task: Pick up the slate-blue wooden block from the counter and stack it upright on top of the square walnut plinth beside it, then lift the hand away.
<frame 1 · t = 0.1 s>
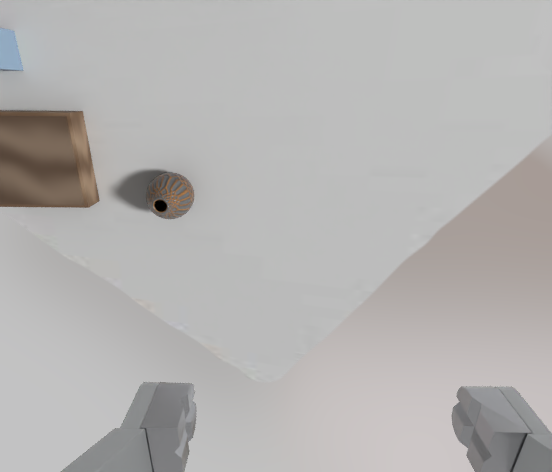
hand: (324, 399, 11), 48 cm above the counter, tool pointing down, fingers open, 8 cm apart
slate block: (1, 50, 50), on the counter
vase: (177, 189, 58), on the counter
walnut plinth: (47, 157, 56), on the counter
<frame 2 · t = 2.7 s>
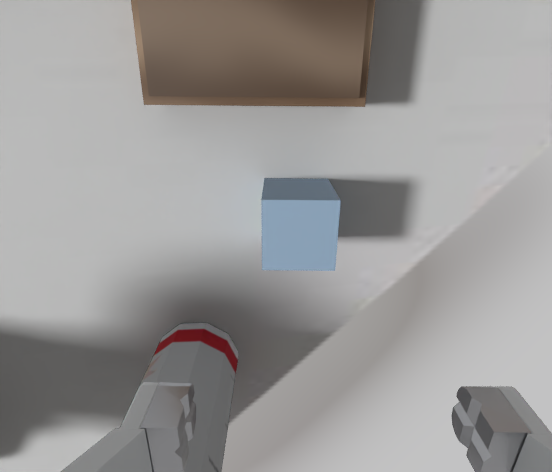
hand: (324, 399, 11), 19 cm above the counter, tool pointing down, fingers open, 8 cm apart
slate block: (295, 208, 29), on the counter
spray bottle: (199, 353, 35), on the counter
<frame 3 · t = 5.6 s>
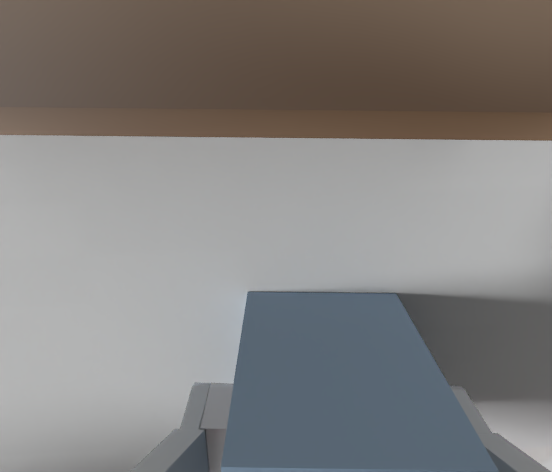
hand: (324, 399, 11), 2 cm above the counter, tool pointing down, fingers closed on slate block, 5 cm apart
slate block: (317, 351, 13), on the counter, touching gripper
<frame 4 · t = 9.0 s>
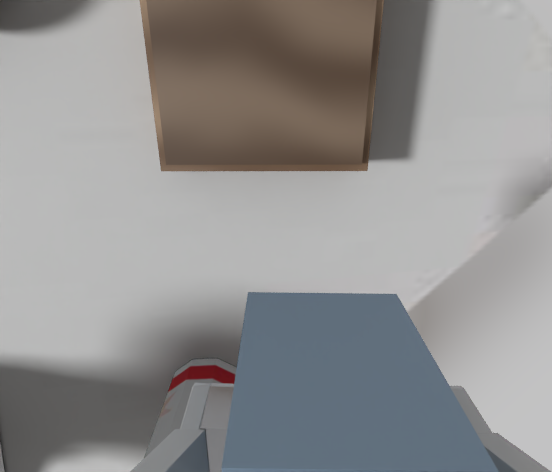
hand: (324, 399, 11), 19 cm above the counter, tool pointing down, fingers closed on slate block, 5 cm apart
slate block: (318, 352, 13), point 17 cm above the counter, touching gripper
walnut plinth: (264, 60, 25), on the counter
spray bottle: (210, 386, 36), on the counter
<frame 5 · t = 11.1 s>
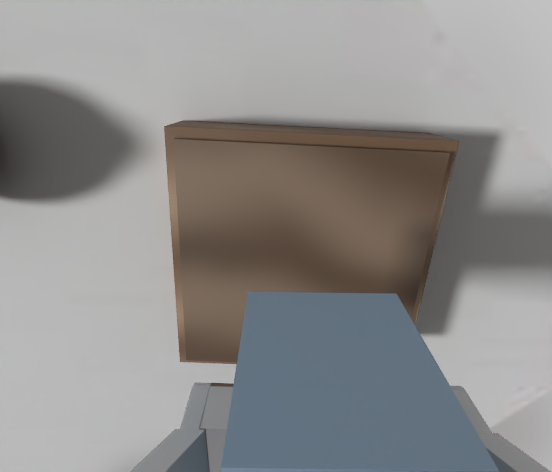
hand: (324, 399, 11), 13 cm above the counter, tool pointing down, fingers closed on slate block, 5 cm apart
slate block: (318, 352, 13), point 11 cm above the counter, touching gripper
walnut plinth: (297, 240, 23), on the counter
when the fingers open (8 cm above the counter, at t = 12.8 s): slate block drops 1 cm, resting on walnut plinth.
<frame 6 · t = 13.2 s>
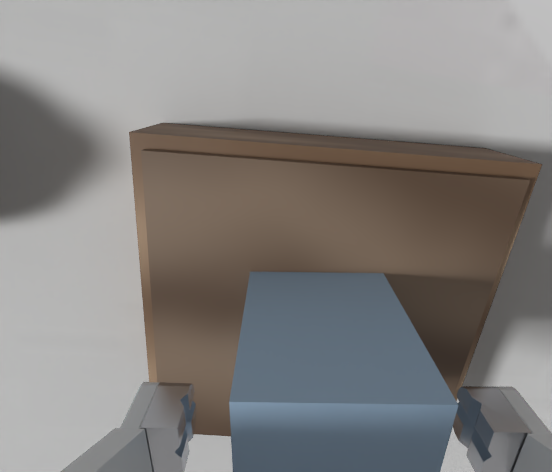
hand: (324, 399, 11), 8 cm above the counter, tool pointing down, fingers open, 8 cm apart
slate block: (313, 327, 14), point 4 cm above the counter, touching walnut plinth
walnut plinth: (307, 278, 18), on the counter
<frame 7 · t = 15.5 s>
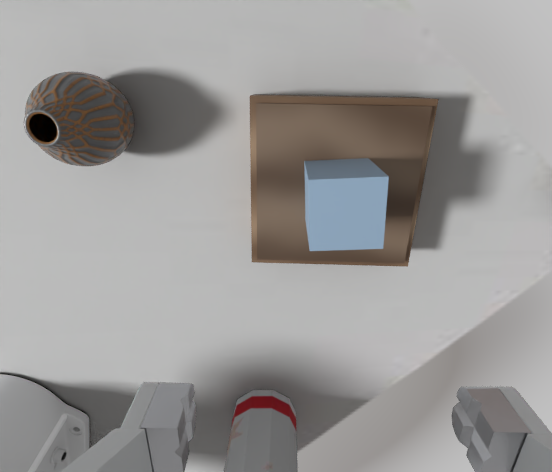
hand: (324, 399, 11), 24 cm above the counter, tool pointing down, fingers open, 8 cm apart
slate block: (335, 190, 29), point 4 cm above the counter, touching walnut plinth
vase: (106, 116, 31), on the counter
walnut plinth: (330, 178, 32), on the counter
spray bottle: (264, 410, 45), on the counter
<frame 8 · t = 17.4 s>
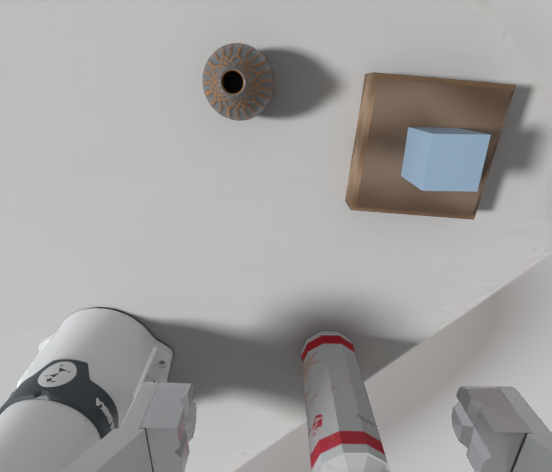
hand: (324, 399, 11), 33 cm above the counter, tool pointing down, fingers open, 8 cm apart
slate block: (428, 152, 37), point 4 cm above the counter, touching walnut plinth
vase: (242, 84, 38), on the counter
walnut plinth: (415, 146, 40), on the counter
spray bottle: (327, 351, 52), on the counter
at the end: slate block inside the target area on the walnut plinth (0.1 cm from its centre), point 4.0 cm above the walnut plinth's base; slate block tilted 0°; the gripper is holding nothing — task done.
